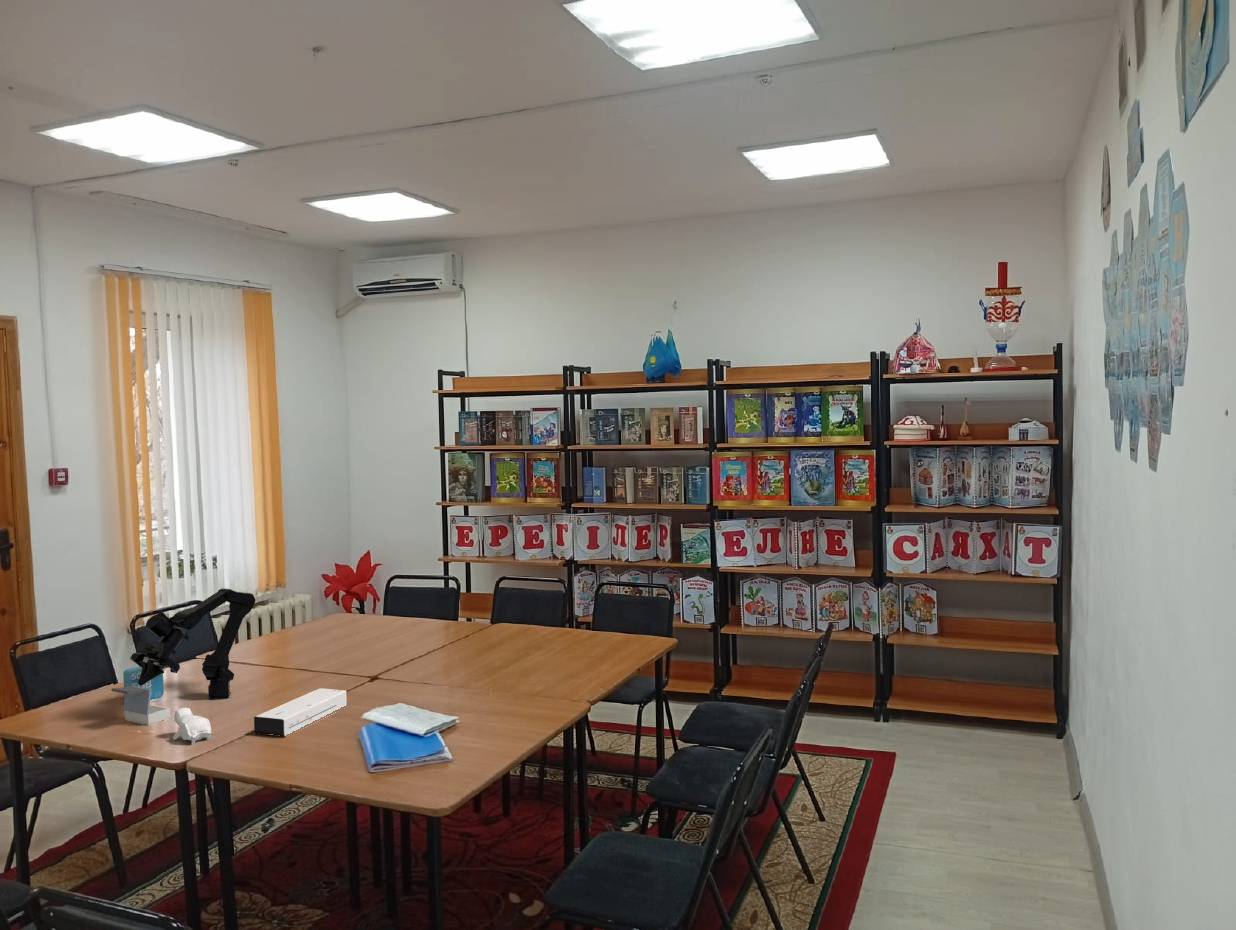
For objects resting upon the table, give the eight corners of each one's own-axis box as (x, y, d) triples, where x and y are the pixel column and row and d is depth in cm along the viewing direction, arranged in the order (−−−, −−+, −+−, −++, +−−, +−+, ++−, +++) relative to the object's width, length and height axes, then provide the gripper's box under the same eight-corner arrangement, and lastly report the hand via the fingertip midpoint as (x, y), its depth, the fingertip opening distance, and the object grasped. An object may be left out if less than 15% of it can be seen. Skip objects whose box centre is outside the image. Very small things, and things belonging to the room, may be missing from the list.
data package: (129, 704, 322) (128, 671, 322) (123, 702, 325) (123, 669, 324) (163, 697, 331) (163, 664, 331) (158, 694, 334) (157, 662, 334)
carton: (146, 713, 311) (146, 703, 311) (170, 718, 306) (169, 708, 306) (124, 720, 304) (124, 710, 304) (148, 725, 299) (148, 714, 299)
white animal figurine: (212, 747, 287) (189, 721, 295) (217, 724, 284) (194, 699, 293) (185, 754, 280) (163, 728, 288) (190, 731, 278) (167, 705, 286)
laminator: (283, 739, 286) (283, 719, 286) (251, 735, 290) (250, 716, 290) (347, 707, 318) (346, 690, 318) (317, 704, 322) (316, 687, 322)
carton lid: (127, 685, 305) (107, 687, 299) (151, 690, 300) (131, 692, 293) (124, 710, 304) (104, 712, 298) (148, 714, 299) (128, 717, 293)
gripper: (134, 629, 310) (104, 669, 301) (170, 634, 302) (141, 675, 293) (155, 646, 318) (127, 686, 309) (192, 652, 310) (164, 693, 300)
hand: (139, 684), depth 302 cm, fingers closed
